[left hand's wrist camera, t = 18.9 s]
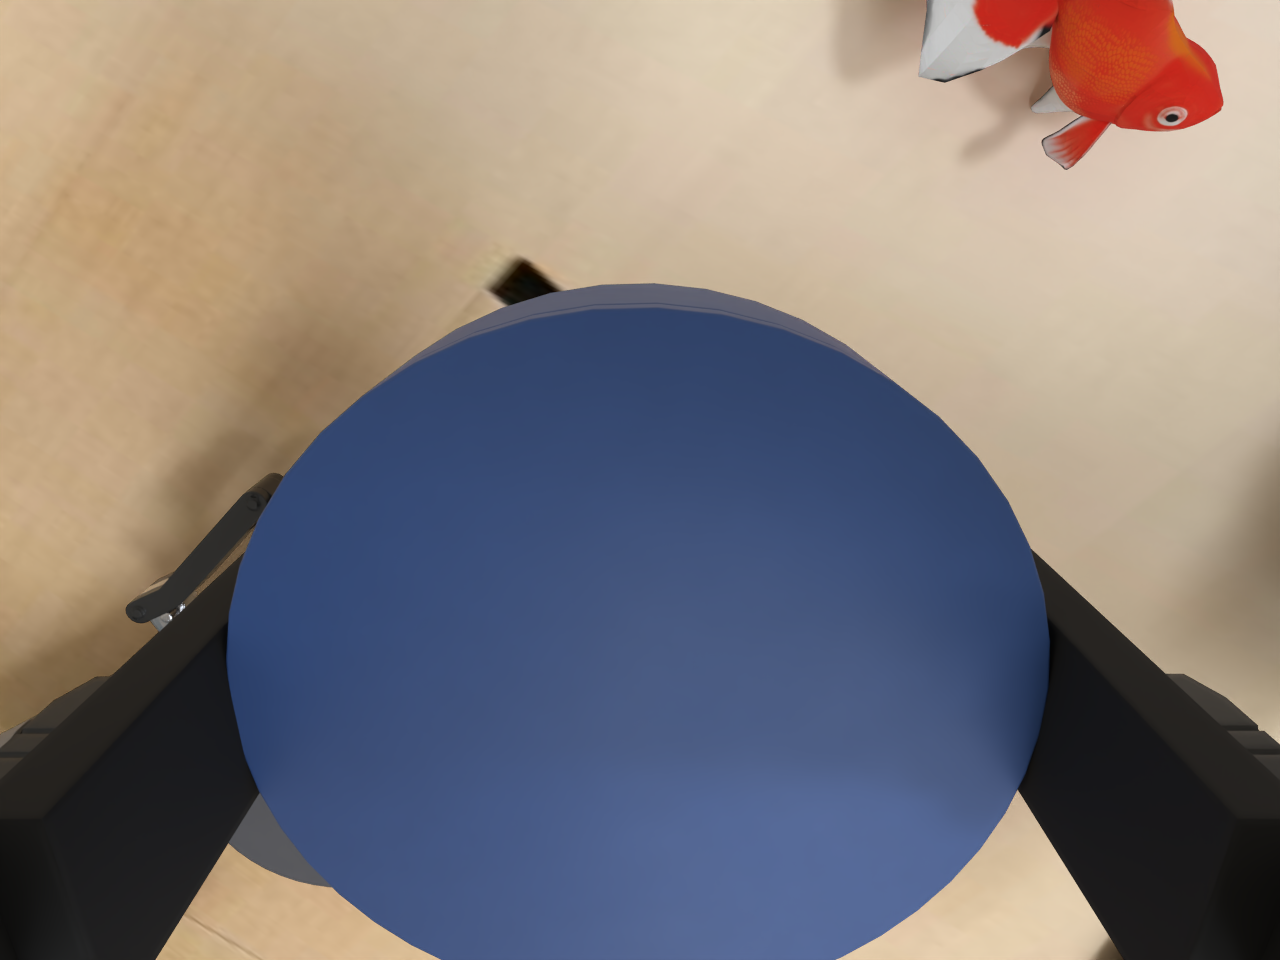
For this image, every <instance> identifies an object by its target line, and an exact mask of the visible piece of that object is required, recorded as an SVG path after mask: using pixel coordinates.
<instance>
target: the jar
mask: <svg viewBox="0 0 1280 960" xmlns="http://www.w3.org/2000/svg"><path fill="white" fill-rule="evenodd" d="M229 844H230V845H231V846H232V847H233V848H235V849H236V850H237V851H238V852H240V853H241V854H242V855H244V856H245V857H247V858H248V859H249V860H251V861H253V862H254V863H256V864H258V865H260V866H261V867H263V868H265V869H267V870H269V871H272V872H274V873H276V874H278V875H281V876H283V877H286V878H289V879H292V880H295V881H299V882H303V883H308V884H312V885H318V886H325V887H332V886H331V885H330V884H329V883H328V882H327V881H326V880H325V879H324V878H323V877H322V876H321V875H320V874H319V873H318V872H317V871H316V870H315V869H314V868H313V867H312V866H311V865H310V864H309V863H308V862H307V861H306V860H305V859H304V857H303V856H302V855H301V853H300V852H299V851H298V850H297V848H296V847H295V846H294V844H293V843H292V842H291V841H290V839H289V838H288V837H287V835H286V834H285V833H284V832H283V830H282V829H281V828H280V826H279V824H278V823H277V821H276V819H275V818H274V816H273V814H272V812H271V811H270V809H269V807H268V806H267V804H266V802H265V801H264V799H263V797H262V795H261V794H260V793H259V795H258V796H257V798H256V800H255V801H254V803H253V804H252V806H251V808H250V809H249V811H248V812H247V814H246V816H245V817H244V819H243V820H242V822H241V824H240V825H239V827H238V828H237V830H236V832H235V833H234V835H233V836H232V838H231V840H230V841H229Z"/></svg>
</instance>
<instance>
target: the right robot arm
mask: <svg viewBox="0 0 1280 960" xmlns="http://www.w3.org/2000/svg"><path fill="white" fill-rule="evenodd" d="M283 478H284V477H283V476H282V475H280V474H276V473H271V474H268V475H267V476H266V477H264V478H263V479H262V480H260V481H259V482H258V483H257V484H255V485H254V486H253V487H252V488H251V489H249V490H248V491H247V492H246V493H244V494H243V495H242V496H241V497H240V498H239V500H238V501H237V502H236V503H235V504H234V505H233V506H232V508H231V509H230V510H229V511H228V512H227V513H226V514H225V515H224V517H223V518H222V519H221V520H220V521H219V522H218V523H217V525H216V526H215V527H214V528H213V529H212V530H211V531H210V532H209V534H208V535H207V536H206V537H205V538H204V539H203V540H202V541H201V543H200V544H199V545H198V546H197V547H196V548H195V549H194V551H193V552H192V553H191V554H190V555H189V556H188V557H187V558H186V560H185V561H184V562H183V563H182V564H181V565H180V566H179V567H178V569H177V570H176V571H175V572H173V573H171V574H168V575H166V576H164V577H162V578H160V579H158V580H157V581H156V582H154V583H153V584H152V585H151V586H150V587H148V588H147V589H146V590H145V591H143V592H142V593H141V594H140V595H139V596H137V598H135V599H134V600H133V601H132V602H131V603H129V604H128V605H127V607H126V614H127V616H128V617H129V618H130V619H131V620H132V621H134V622H136V623H145V622H148V621H151V622H152V624H153V625H154V626H155V627H156V629H157V630H158V631H161V630H162V629H163V628H164V627H165V626H166V625H167V624H168V623H169V622H170V621H171V620H172V619H173V618H175V617H176V616H177V615H178V614H179V613H180V612H181V611H182V610H183V609H184V608H185V607H186V606H187V605H188V604H190V603H191V602H192V601H193V600H194V599H195V598H196V597H197V592H196V591H195V590H196V589H197V588H198V587H200V586H201V585H202V584H203V583H204V582H205V581H206V580H207V579H208V578H209V577H210V576H211V575H212V574H213V573H214V572H215V571H216V570H217V569H218V567H219V566H220V565H221V564H222V563H223V562H224V561H225V560H226V559H227V557H228V556H229V555H230V554H231V553H232V552H233V551H234V550H235V549H236V548H237V546H238V545H239V544H240V543H241V542H242V541H243V540H244V539H245V538H246V536H247V535H248V534H249V533H250V532H251V531H252V530H253V529H254V528H255V526H256V524H257V521H258V519H259V517H260V516H261V514H262V512H263V511H264V509H265V507H266V506H267V504H268V502H269V501H270V499H271V497H272V496H273V494H274V492H275V491H276V489H277V487H278V486H279V484H280V482H281V481H282V479H283ZM111 676H112V675H111ZM111 676H109V677H111ZM36 716H37V715H36ZM36 716H34V717H32V718H30V719H29V720H27V721H25V722H23V723H21V724H19V725H17V726H15V727H13V728H11V729H9V730H7V731H5V732H3V733H1V734H0V748H1V747H2V746H3V745H4V744H5V743H6V742H7V741H9V740H10V739H11V738H12V737H13V736H14V735H15V734H21V733H22V731H23V730H22V728H23V727H24V726H26V725H27V724H28V723H29V722H30V721H31V720H32V719H34V718H35V717H36Z"/></svg>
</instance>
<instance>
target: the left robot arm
mask: <svg viewBox="0 0 1280 960" xmlns="http://www.w3.org/2000/svg"><path fill="white" fill-rule="evenodd" d="M1031 552H1032V555H1033V558H1034V562H1035V565H1036V569H1037V572H1038V575H1039V579H1040V582H1041V585H1042V589H1043V592H1044V599H1045V606H1046V614H1047V622H1048V630H1049V638H1050V657H1049V688H1048V693H1047V698H1046V704H1045V708H1044V713H1043V718H1042V723H1041V727H1040V732H1039V736H1038V739H1037V742H1036V745H1035V748H1034V751H1033V754H1032V757H1031V760H1030V762H1029V765H1028V768H1027V771H1026V774H1025V776H1024V778H1023V780H1022V782H1021V784H1020V786H1019V787H1018V791H1019V792H1020V794H1021V796H1022V797H1023V799H1024V800H1025V802H1026V804H1027V805H1028V807H1029V808H1030V810H1031V812H1032V813H1033V815H1034V816H1035V818H1036V820H1037V821H1038V823H1039V824H1040V826H1041V828H1042V829H1043V831H1044V832H1045V834H1046V836H1047V837H1048V839H1049V840H1050V842H1051V844H1052V845H1053V847H1054V848H1055V850H1056V852H1057V853H1058V855H1059V856H1060V858H1061V860H1062V861H1063V863H1064V864H1065V866H1066V868H1067V869H1068V871H1069V872H1070V874H1071V876H1072V877H1073V879H1074V880H1075V882H1076V884H1077V885H1078V887H1079V888H1080V890H1081V892H1082V893H1083V895H1084V896H1085V898H1086V900H1087V901H1088V903H1089V904H1090V906H1091V908H1092V909H1093V911H1094V912H1095V914H1096V916H1097V917H1098V919H1099V920H1100V922H1101V924H1102V925H1103V927H1104V928H1105V930H1106V932H1107V933H1108V935H1109V936H1110V938H1111V940H1112V941H1113V943H1114V944H1115V946H1116V948H1117V949H1118V951H1119V952H1120V954H1121V956H1122V957H1123V959H1124V960H1280V744H1279V743H1277V742H1276V741H1275V740H1274V739H1273V738H1272V737H1271V736H1269V735H1268V734H1267V733H1266V732H1265V731H1259V730H1258V725H1257V724H1256V723H1255V722H1253V721H1252V720H1251V719H1250V718H1249V717H1248V716H1247V715H1245V714H1244V713H1243V712H1242V711H1241V710H1240V709H1239V708H1237V707H1236V706H1235V705H1234V704H1233V703H1232V702H1231V701H1229V700H1228V699H1227V698H1226V697H1224V696H1222V695H1221V694H1219V693H1217V692H1215V691H1213V690H1212V689H1210V688H1208V687H1206V686H1204V685H1203V684H1201V683H1199V682H1197V681H1195V680H1194V679H1192V678H1190V677H1188V676H1186V675H1185V674H1165V673H1164V672H1163V671H1162V670H1161V669H1160V668H1159V667H1158V666H1157V665H1156V664H1154V663H1153V662H1152V661H1151V660H1150V659H1149V658H1148V657H1147V656H1146V655H1145V654H1144V653H1143V652H1142V651H1140V650H1139V649H1138V648H1137V647H1136V646H1135V645H1134V644H1133V643H1132V642H1131V641H1130V640H1129V639H1128V638H1126V637H1125V636H1124V635H1123V634H1122V633H1121V632H1120V631H1119V630H1118V629H1117V628H1116V627H1115V626H1114V625H1112V624H1111V623H1110V622H1109V621H1108V620H1107V619H1106V618H1105V617H1104V616H1103V615H1102V614H1101V613H1100V612H1098V611H1097V610H1096V609H1095V608H1094V607H1093V606H1092V605H1091V604H1090V603H1089V602H1088V601H1087V600H1086V599H1085V598H1083V597H1082V596H1081V595H1080V594H1079V593H1078V592H1077V591H1076V590H1075V589H1074V588H1073V587H1072V586H1071V585H1069V584H1068V583H1067V582H1066V581H1065V580H1064V579H1063V578H1062V577H1061V576H1060V575H1059V574H1058V573H1057V572H1055V571H1054V570H1053V569H1052V568H1051V567H1050V566H1049V565H1048V564H1047V563H1046V562H1045V561H1044V560H1043V559H1041V558H1040V557H1039V556H1038V555H1037V554H1036V553H1035V552H1034V551H1033V550H1032V549H1031ZM244 553H245V552H244ZM244 553H243V554H242V555H241V556H240V557H239V558H238V559H237V560H236V561H235V562H234V563H233V564H232V565H230V566H229V567H228V568H227V569H226V570H225V571H224V572H223V573H222V574H221V575H220V576H219V577H218V578H216V579H215V580H214V581H213V582H212V583H211V584H210V585H209V586H208V587H207V588H206V589H205V590H204V591H202V592H201V593H200V594H199V595H198V596H197V597H196V598H195V599H194V600H193V601H192V602H191V603H190V604H188V605H187V606H186V607H185V608H184V609H183V610H182V611H181V612H180V613H179V614H178V615H177V616H176V617H175V618H173V619H172V620H171V621H170V622H169V623H168V624H167V625H166V626H165V627H164V628H163V629H162V630H161V631H159V632H158V633H157V634H156V635H155V636H154V637H153V638H152V639H151V640H150V641H149V642H148V643H147V644H145V645H144V646H143V647H142V648H141V649H140V650H139V651H138V652H137V653H136V654H135V655H134V656H133V657H131V658H130V659H129V660H128V661H127V662H126V663H125V664H124V665H123V666H122V667H121V668H120V669H119V670H117V671H116V672H115V673H114V674H113V675H112V676H111V677H95V678H93V679H91V680H90V681H88V682H86V683H84V684H83V685H81V686H79V687H77V688H75V689H74V690H72V691H70V692H68V693H66V694H65V695H63V696H61V697H59V698H58V699H56V700H54V701H53V702H52V703H51V704H49V705H48V706H47V707H46V708H45V709H44V710H43V711H42V712H40V713H39V714H38V715H37V716H36V717H35V718H34V719H32V720H31V721H30V722H29V723H28V724H27V725H26V726H24V727H23V728H22V730H23V731H22V733H21V734H15V735H14V736H13V737H12V738H11V739H10V740H9V741H7V742H6V743H5V744H4V745H3V746H2V747H1V748H0V960H156V958H157V956H158V955H159V953H160V952H161V950H162V948H163V947H164V945H165V944H166V942H167V940H168V939H169V937H170V936H171V934H172V932H173V931H174V929H175V928H176V926H177V924H178V923H179V921H180V920H181V918H182V916H183V915H184V913H185V912H186V910H187V908H188V907H189V905H190V904H191V902H192V900H193V899H194V897H195V896H196V894H197V892H198V891H199V889H200V888H201V886H202V884H203V883H204V881H205V880H206V878H207V876H208V875H209V873H210V872H211V870H212V868H213V867H214V865H215V864H216V862H217V860H218V859H219V857H220V856H221V854H222V852H223V851H224V849H225V848H226V846H227V844H228V843H229V841H230V840H231V838H232V836H233V835H234V833H235V832H236V830H237V828H238V827H239V825H240V824H241V822H242V820H243V819H244V817H245V816H246V814H247V812H248V811H249V809H250V808H251V806H252V804H253V803H254V801H255V800H256V798H257V796H258V795H259V793H260V792H259V790H258V788H257V786H256V783H255V781H254V778H253V776H252V774H251V771H250V769H249V766H248V764H247V762H246V758H245V755H244V751H243V747H242V743H241V738H240V734H239V729H238V724H237V720H236V715H235V711H234V706H233V702H232V697H231V692H230V687H229V682H228V676H227V666H226V652H227V636H228V620H229V610H230V606H231V602H232V597H233V593H234V588H235V584H236V579H237V575H238V571H239V566H240V563H241V561H242V558H243V556H244Z"/></svg>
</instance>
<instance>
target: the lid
mask: <svg viewBox="0 0 1280 960" xmlns="http://www.w3.org/2000/svg"><path fill="white" fill-rule="evenodd" d="M1049 657H1050V638H1049V630H1048V622H1047V614H1046V606H1045V599H1044V592H1043V589H1042V585H1041V582H1040V579H1039V575H1038V572H1037V569H1036V565H1035V562H1034V558H1033V555H1032V552H1031V548H1030V546H1029V544H1028V541H1027V539H1026V537H1025V535H1024V533H1023V531H1022V529H1021V527H1020V525H1019V523H1018V521H1017V519H1016V517H1015V514H1014V512H1013V510H1012V508H1011V506H1010V504H1009V502H1008V500H1007V499H1006V497H1005V496H1004V494H1003V493H1002V492H1001V490H1000V489H999V487H998V486H997V484H996V483H995V481H994V480H993V479H992V477H991V476H990V474H989V473H988V471H987V470H986V468H985V467H984V466H983V464H982V463H981V461H980V460H979V458H978V457H977V456H976V455H975V454H974V453H973V452H972V451H971V450H970V449H969V448H968V447H967V446H966V444H965V443H964V442H963V441H962V440H961V439H960V438H959V437H958V436H957V435H956V434H955V433H954V432H953V431H952V430H951V429H950V428H949V427H948V426H947V424H946V423H945V422H944V421H943V420H942V419H941V418H940V417H939V416H937V415H936V414H935V413H934V412H932V411H931V410H930V409H928V408H927V407H926V406H925V405H923V404H922V403H921V402H919V401H918V400H917V399H916V398H914V397H913V396H912V395H910V394H909V393H908V392H907V391H905V390H904V389H903V388H901V387H900V386H899V385H898V384H896V383H895V382H894V381H892V380H891V379H890V378H888V377H887V376H886V375H885V374H883V373H882V372H881V371H879V370H878V369H877V368H875V367H874V366H873V365H872V364H870V363H869V362H868V361H866V360H865V359H864V358H862V357H861V356H860V355H859V354H857V353H856V352H855V351H853V350H852V349H851V348H850V347H848V346H847V345H846V344H844V343H842V342H840V341H839V340H837V339H835V338H833V337H832V336H830V335H828V334H826V333H825V332H823V331H821V330H819V329H818V328H816V327H814V326H812V325H811V324H809V323H807V322H805V321H804V320H801V319H799V318H796V317H794V316H791V315H789V314H786V313H784V312H781V311H779V310H776V309H774V308H771V307H769V306H766V305H764V304H761V303H759V302H756V301H752V300H748V299H744V298H740V297H736V296H732V295H728V294H724V293H720V292H716V291H712V290H708V289H701V288H691V287H682V286H673V285H664V284H654V283H653V284H615V285H598V286H592V287H586V288H579V289H573V290H567V291H561V292H555V293H550V294H546V295H543V296H540V297H536V298H533V299H530V300H527V301H523V302H520V303H517V304H513V305H510V306H507V307H504V308H501V309H499V310H497V311H494V312H492V313H490V314H488V315H486V316H484V317H481V318H479V319H477V320H475V321H473V322H471V323H468V324H466V325H464V326H462V327H460V328H458V329H456V330H454V331H453V332H451V333H450V334H448V335H446V336H445V337H443V338H442V339H440V340H439V341H437V342H436V343H434V344H433V345H431V346H429V347H428V348H426V349H425V350H423V351H422V352H420V353H419V354H417V355H416V356H414V357H413V358H412V359H410V360H409V361H408V362H406V363H405V364H404V365H402V366H401V367H400V368H398V369H397V370H396V371H394V372H393V373H392V374H390V375H389V376H388V377H387V378H385V379H384V380H383V381H381V382H380V383H379V384H377V385H376V386H375V387H373V388H372V389H371V390H369V391H368V392H367V393H365V394H364V395H363V396H362V397H361V398H359V399H358V400H357V401H356V402H355V403H354V404H353V405H351V406H350V407H349V408H348V409H347V410H346V411H345V412H344V413H342V414H341V415H340V416H339V417H338V418H337V419H336V420H334V421H333V422H332V423H331V424H330V425H329V426H328V427H326V428H325V429H324V430H323V431H322V432H321V433H320V434H319V435H318V436H317V437H316V439H315V440H314V441H313V442H312V443H311V445H310V446H309V447H308V448H307V449H306V450H305V452H304V453H303V454H302V455H301V456H300V458H299V459H298V460H297V461H296V462H295V464H294V465H293V466H292V467H291V468H290V469H289V471H288V472H287V473H286V474H285V476H284V478H283V479H282V481H281V482H280V484H279V486H278V487H277V489H276V491H275V492H274V494H273V496H272V497H271V499H270V501H269V502H268V504H267V506H266V507H265V509H264V511H263V512H262V514H261V516H260V517H259V519H258V521H257V524H256V526H255V529H254V531H253V534H252V536H251V539H250V541H249V544H248V546H247V549H246V551H245V553H244V556H243V558H242V561H241V563H240V566H239V571H238V575H237V579H236V584H235V588H234V593H233V597H232V602H231V606H230V610H229V620H228V636H227V652H226V666H227V676H228V682H229V687H230V692H231V697H232V702H233V706H234V711H235V715H236V720H237V724H238V729H239V734H240V738H241V743H242V747H243V751H244V755H245V758H246V762H247V764H248V766H249V769H250V771H251V774H252V776H253V778H254V781H255V783H256V786H257V788H258V790H259V792H260V794H261V795H262V797H263V799H264V801H265V802H266V804H267V806H268V807H269V809H270V811H271V812H272V814H273V816H274V818H275V819H276V821H277V823H278V824H279V826H280V828H281V829H282V830H283V832H284V833H285V834H286V835H287V837H288V838H289V839H290V841H291V842H292V843H293V844H294V846H295V847H296V848H297V850H298V851H299V852H300V853H301V855H302V856H303V857H304V859H305V860H306V861H307V862H308V863H309V864H310V865H311V866H312V867H313V868H314V869H315V870H316V871H317V872H318V873H319V874H320V875H321V876H322V877H323V878H324V879H325V880H326V881H327V882H328V883H329V884H330V885H331V886H332V887H333V888H334V889H335V890H336V891H337V892H338V893H339V894H340V895H341V896H342V897H343V898H345V899H346V900H347V901H349V902H350V903H351V904H352V905H354V906H355V907H356V908H357V909H359V910H360V911H361V912H362V913H364V914H365V915H366V916H367V917H369V918H370V919H371V920H373V921H374V922H375V923H377V924H379V925H380V926H382V927H383V928H385V929H387V930H388V931H390V932H391V933H393V934H395V935H396V936H398V937H399V938H401V939H403V940H404V941H406V942H407V943H409V944H411V945H412V946H414V947H416V948H419V949H421V950H423V951H425V952H427V953H429V954H431V955H433V956H435V957H437V958H439V959H441V960H836V959H838V958H841V957H843V956H845V955H846V954H848V953H850V952H852V951H854V950H856V949H857V948H859V947H861V946H863V945H865V944H867V943H868V942H870V941H872V940H874V939H876V938H878V937H879V936H881V935H883V934H884V933H886V932H887V931H888V930H890V929H891V928H893V927H894V926H896V925H897V924H899V923H900V922H902V921H903V920H904V919H906V918H907V917H909V916H910V915H912V914H913V913H915V912H916V911H917V910H919V909H920V908H921V907H922V906H923V905H924V904H925V903H927V902H928V901H929V900H930V899H931V898H932V897H933V896H935V895H936V894H937V893H938V892H939V891H940V890H942V889H943V888H944V887H945V886H946V885H947V884H948V883H950V882H951V881H952V879H953V878H954V877H955V876H956V875H957V874H958V873H959V872H960V871H961V870H962V868H963V867H964V866H965V865H966V864H967V863H968V862H969V861H970V860H971V859H972V857H973V856H974V855H975V854H976V853H977V852H978V851H979V850H980V848H981V847H982V846H983V844H984V843H985V841H986V840H987V838H988V837H989V836H990V834H991V833H992V831H993V830H994V828H995V827H996V826H997V824H998V823H999V821H1000V820H1001V818H1002V817H1003V816H1004V814H1005V813H1006V811H1007V809H1008V807H1009V805H1010V803H1011V801H1012V799H1013V797H1014V795H1015V793H1016V791H1017V789H1018V787H1019V786H1020V784H1021V782H1022V780H1023V778H1024V776H1025V774H1026V771H1027V768H1028V765H1029V762H1030V760H1031V757H1032V754H1033V751H1034V748H1035V745H1036V742H1037V739H1038V736H1039V732H1040V727H1041V723H1042V718H1043V713H1044V708H1045V704H1046V698H1047V693H1048V688H1049Z"/></svg>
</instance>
